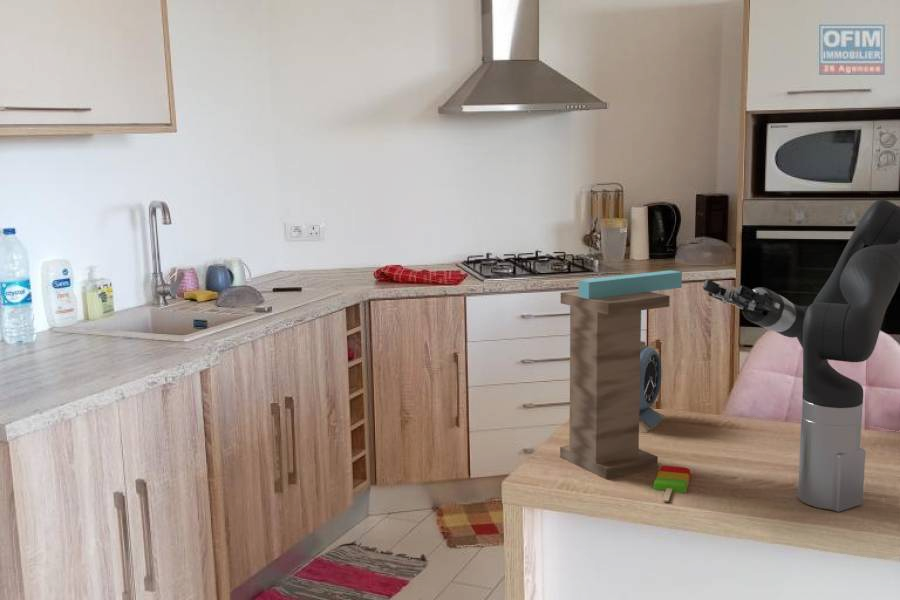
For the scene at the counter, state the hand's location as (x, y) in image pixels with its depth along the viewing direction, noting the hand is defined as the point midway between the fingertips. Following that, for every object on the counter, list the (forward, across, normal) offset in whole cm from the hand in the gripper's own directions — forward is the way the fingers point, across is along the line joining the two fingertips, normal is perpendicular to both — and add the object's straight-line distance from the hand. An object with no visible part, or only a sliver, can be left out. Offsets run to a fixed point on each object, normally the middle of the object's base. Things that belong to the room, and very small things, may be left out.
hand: (722, 287), depth 186 cm
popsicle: (+14, +15, +40) cm, 45 cm away
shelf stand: (+14, -1, +39) cm, 41 cm away
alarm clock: (-6, -16, +31) cm, 36 cm away
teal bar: (+22, -1, +8) cm, 24 cm away
